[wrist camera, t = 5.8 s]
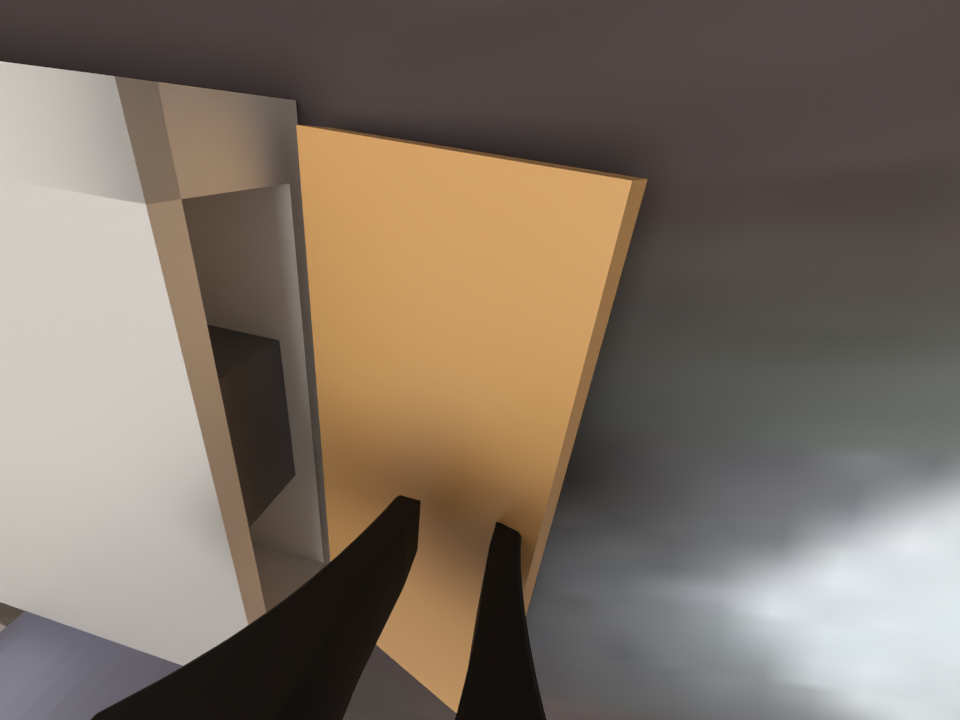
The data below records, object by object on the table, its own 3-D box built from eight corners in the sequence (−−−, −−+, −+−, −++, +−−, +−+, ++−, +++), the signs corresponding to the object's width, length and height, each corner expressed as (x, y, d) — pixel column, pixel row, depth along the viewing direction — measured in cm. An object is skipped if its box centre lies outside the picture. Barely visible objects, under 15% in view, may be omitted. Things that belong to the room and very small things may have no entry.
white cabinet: (332, 579, 21) (265, 694, 17) (89, 506, 23) (-28, 592, 19) (295, 100, 11) (114, 76, 7) (-115, 46, 13) (-454, 2, 9)
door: (351, 591, 20) (499, 711, 16) (334, 608, 19) (485, 738, 16) (330, 127, 11) (647, 179, 7) (296, 124, 10) (632, 180, 7)
